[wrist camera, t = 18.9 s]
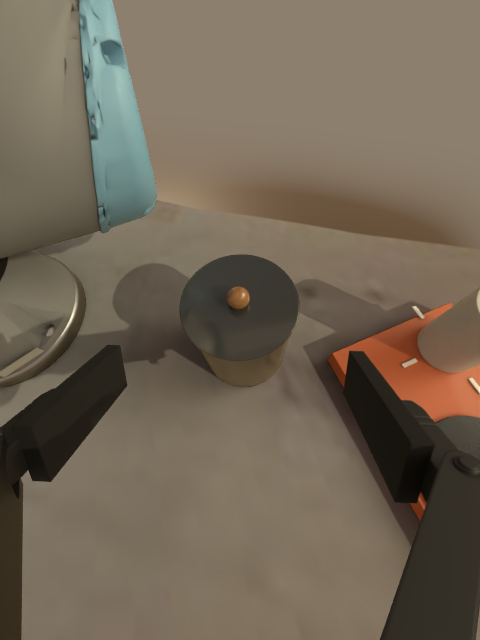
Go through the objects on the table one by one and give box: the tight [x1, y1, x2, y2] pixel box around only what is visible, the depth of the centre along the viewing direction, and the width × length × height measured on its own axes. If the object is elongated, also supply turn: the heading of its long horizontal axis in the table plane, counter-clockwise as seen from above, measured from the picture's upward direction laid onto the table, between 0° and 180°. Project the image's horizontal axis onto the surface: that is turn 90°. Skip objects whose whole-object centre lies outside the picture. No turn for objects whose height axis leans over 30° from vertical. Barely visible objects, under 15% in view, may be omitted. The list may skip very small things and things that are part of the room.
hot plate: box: [327, 303, 480, 521], centre depth 23 cm, size 19×14×2 cm
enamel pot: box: [180, 255, 299, 387], centre depth 23 cm, size 8×8×11 cm
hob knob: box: [417, 288, 480, 373], centre depth 21 cm, size 5×5×8 cm
